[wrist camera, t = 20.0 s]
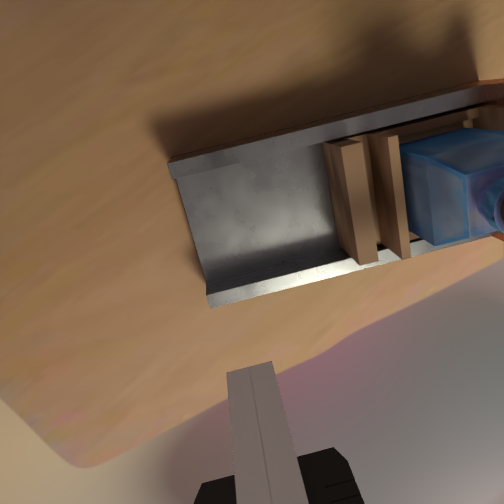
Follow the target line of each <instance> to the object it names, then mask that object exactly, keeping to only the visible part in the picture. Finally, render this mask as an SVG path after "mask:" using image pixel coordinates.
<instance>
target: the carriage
mask: <svg viewBox="0 0 504 504" xmlns="http://www.w3.org/2000/svg"><path fill="white" fill-rule="evenodd" d="M461 128H475V129H486V130H498V131H504V105H469V106H465V107H461V108H457V109H453V110H449V111H445V112H441V113H437V114H433V115H429V116H425V117H421V118H417V119H413V120H409V121H405V122H401V123H397V124H393V125H389V126H385V127H381V128H377V129H373V130H369V131H365V132H361V133H357V134H353V135H349V136H345V137H341V138H337V139H333V140H329V141H325V142H322V146H323V151H324V157H325V163H326V169H327V175H328V181H329V186H330V192H331V198H332V204H333V210H334V215H335V221H336V227H337V233H338V239H339V245H340V246H341V247H342V248H343V249H344V250H345V251H346V252H347V253H348V254H349V255H350V257H351V258H352V259H353V260H354V261H355V262H356V263H357V264H358V265H359V266H362V265H366V264H370V263H374V262H378V261H379V259H378V252H377V245H378V244H383V245H384V246H385V247H387V248H388V249H389V250H391V251H392V252H393V253H394V254H396V255H397V256H398V257H399V258H401V259H402V260H404V259H408V258H412V257H411V248H410V240H413V239H417V238H420V237H419V236H417V235H415V234H414V233H412V232H411V231H409V230H408V222H407V213H406V204H405V195H404V186H403V177H402V168H401V160H400V151H399V144H403V143H407V142H410V141H414V140H418V139H422V138H426V137H430V136H434V135H437V134H441V133H445V132H449V131H453V130H457V129H461Z"/></svg>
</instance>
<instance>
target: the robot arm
mask: <svg viewBox="0 0 504 504" xmlns="http://www.w3.org/2000/svg"><path fill="white" fill-rule="evenodd" d="M227 386H228V398H229V411H230V421H231V422H230V423H231V436H232V448H233V460H234V473H235V475H232V476H228V477H224V478H221V479H217V480H213V481H209V482H205V483H202V485H201V487H200V489H199V492H198V494H197V496H196V499H195V501H194V504H364V501H363V499H362V497H361V494H360V491H359V489H358V486H357V484H356V482H355V479H354V476H353V474H352V471H351V469H350V466H349V464H348V461H347V460H346V459H345V458H344V457H343V456H342V455H341V454H340V453H339V452H338V451H337V450H336V449H335V448H334V447H333V448H329V449H325V450H321V451H318V452H314V453H310V454H306V455H302V456H299V457H296V453H295V449H294V445H293V441H292V437H291V434H290V430H289V426H288V422H287V419H286V414H285V411H284V407H283V403H282V399H281V395H280V391H279V387H278V383H277V380H276V376H275V372H274V368H273V364H272V361H270V362H266V363H262V364H258V365H254V366H250V367H247V368H243V369H239V370H235V371H231V372H227Z"/></svg>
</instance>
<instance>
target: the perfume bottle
mask: <svg viewBox="0 0 504 504" xmlns="http://www.w3.org/2000/svg"><path fill="white" fill-rule="evenodd" d="M399 151H400V160H401V168H402V177H403V186H404V195H405V204H406V213H407V222H408V230H409V231H411V232H412V233H414V234H415V235H417V236H419V237H420V238H422V239H423V240H425V241H427V242H428V243H430V244H432V245H433V246H439V245H443V244H447V243H451V242H455V241H459V240H463V239H468V238H472V237H475V236H479V235H483V234H487V233H491V232H494V231H500V232H502V233H504V131H498V130H486V129H475V128H461V129H457V130H453V131H449V132H445V133H441V134H437V135H434V136H430V137H426V138H422V139H418V140H414V141H410V142H407V143H403V144H399Z"/></svg>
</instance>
